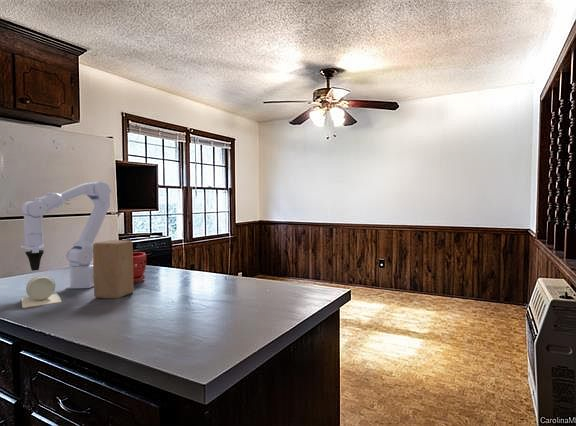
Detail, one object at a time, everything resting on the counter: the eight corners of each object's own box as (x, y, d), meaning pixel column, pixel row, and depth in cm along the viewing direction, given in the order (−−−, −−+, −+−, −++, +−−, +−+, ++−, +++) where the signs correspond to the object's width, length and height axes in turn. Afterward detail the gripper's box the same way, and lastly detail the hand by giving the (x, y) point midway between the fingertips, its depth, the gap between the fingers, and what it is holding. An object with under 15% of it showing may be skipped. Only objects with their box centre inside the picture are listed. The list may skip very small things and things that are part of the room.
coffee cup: (57, 283, 141) (61, 287, 131) (36, 300, 136) (39, 306, 127) (39, 268, 137) (43, 270, 128) (18, 285, 133) (20, 289, 124)
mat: (21, 299, 132) (21, 298, 132) (57, 294, 138) (57, 293, 138) (22, 308, 121) (22, 307, 121) (61, 302, 127) (61, 301, 127)
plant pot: (113, 280, 162) (113, 253, 162) (145, 277, 168) (145, 251, 167) (113, 286, 150) (112, 257, 150) (147, 283, 156) (147, 255, 155)
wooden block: (117, 299, 130) (116, 243, 129) (93, 298, 132) (91, 242, 131) (134, 292, 140) (133, 240, 139) (111, 291, 142) (110, 239, 141)
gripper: (20, 232, 139) (21, 268, 140) (21, 235, 128) (22, 274, 128) (42, 231, 144) (43, 266, 144) (45, 234, 132) (46, 272, 133)
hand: (35, 270), depth 137 cm, fingers closed
